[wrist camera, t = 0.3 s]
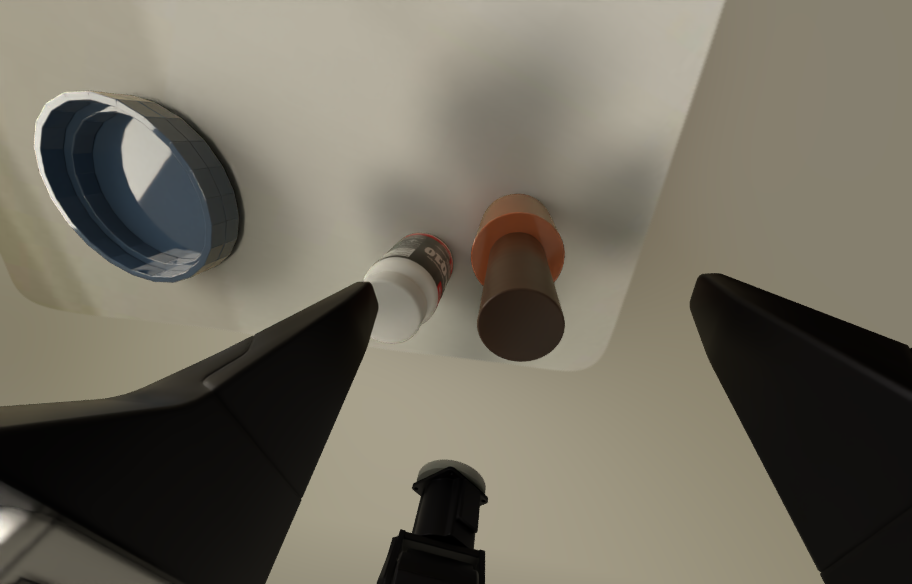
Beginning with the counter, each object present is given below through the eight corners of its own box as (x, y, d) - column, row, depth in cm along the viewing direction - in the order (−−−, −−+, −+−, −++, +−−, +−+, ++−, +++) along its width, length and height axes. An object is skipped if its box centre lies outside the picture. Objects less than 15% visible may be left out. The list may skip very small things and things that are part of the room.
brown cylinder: (511, 293, 18) (512, 375, 12) (477, 255, 18) (459, 320, 11) (556, 262, 17) (583, 335, 11) (521, 219, 16) (528, 271, 10)
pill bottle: (461, 282, 25) (440, 344, 18) (406, 293, 26) (365, 356, 19) (443, 224, 23) (411, 265, 16) (385, 239, 25) (330, 284, 17)
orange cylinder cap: (509, 275, 24) (509, 315, 19) (465, 225, 23) (452, 252, 18) (566, 234, 22) (584, 265, 17) (522, 177, 21) (526, 191, 16)
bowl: (203, 294, 30) (170, 311, 27) (69, 183, 27) (16, 188, 24) (274, 200, 25) (243, 209, 22) (118, 49, 22) (58, 36, 19)
